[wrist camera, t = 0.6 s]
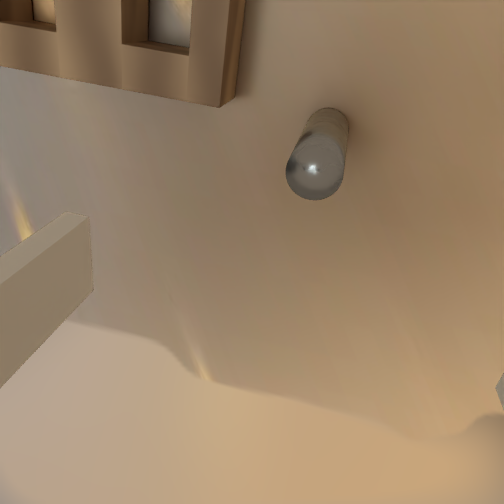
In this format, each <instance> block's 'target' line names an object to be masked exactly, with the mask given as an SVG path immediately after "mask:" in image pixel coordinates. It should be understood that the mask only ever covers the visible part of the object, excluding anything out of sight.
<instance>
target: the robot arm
mask: <svg viewBox="0 0 504 504" xmlns="http://www.w3.org/2000/svg"><path fill="white" fill-rule="evenodd" d="M92 291H93V275H92V258H91V241H90V224H89V217H88V216H84V215H79V214H75V213H70V212H65V213H63V214H62V215H60V216H59V217H57V218H56V219H54V220H53V221H51V222H50V223H49V224H47V225H46V226H44V227H43V228H41V229H40V230H38V231H37V232H35V233H34V234H33V235H31V236H30V237H28V238H27V239H25V240H24V241H22V242H21V243H19V244H18V245H16V246H15V247H14V248H12V249H11V250H9V251H8V252H6V253H5V254H3V255H2V256H0V388H1V387H2V386H3V385H4V384H5V383H6V382H7V381H8V380H9V378H10V377H11V376H12V375H13V374H14V373H15V372H16V371H17V370H18V369H19V368H20V367H21V366H22V365H23V364H24V363H25V361H26V360H28V358H29V357H30V356H31V355H32V354H33V353H34V352H35V351H36V350H37V349H38V348H39V347H40V346H41V345H42V344H43V342H45V340H46V339H47V338H48V337H49V336H50V335H51V334H52V333H53V332H54V331H55V330H56V329H57V328H58V327H59V326H60V325H61V324H62V323H63V322H64V320H65V319H66V318H67V317H68V316H69V315H70V314H71V313H72V312H73V311H74V310H75V309H76V308H77V307H78V306H79V305H80V304H81V303H82V301H83V300H84V299H85V298H86V297H87V296H88V295H89V294H90V293H91V292H92ZM495 388H496V390H497V393H498V396H499V398H500V401H501V404H502V407H503V409H504V373H503V375H502V377H501V378H500V380H499V382H498V384H497V385H496V387H495Z"/></svg>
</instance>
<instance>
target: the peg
mask: <svg viewBox="0 0 504 504" xmlns="http://www.w3.org/2000/svg"><path fill="white" fill-rule="evenodd" d="M348 129H349V128H348V122H347V120H346V118H345V116H344V115H343V114H342V113H341V112H340V111H338V110H336V109H333V108H323V109H320V110H318V111H316V112H315V113H314V114H313V115H312V116H311V117H310V118H309V120H308V122H307V124H306V126H305V128H304V130H303V132H302V134H301V136H300V138H299V140H298V142H297V144H296V146H295V148H294V150H293V152H292V154H291V156H290V158H289V160H288V163H287V166H286V179H287V182H288V184H289V186H290V188H291V189H292V190H293V191H294V192H295V193H296V194H297V195H299V196H300V197H302V198H305V199H308V200H321V199H324V198H327V197H329V196H331V195H332V194H333V193H335V192H336V191H337V189H338V188H339V187H340V185H341V183H342V180H343V174H344V165H345V157H346V148H347V139H348Z"/></svg>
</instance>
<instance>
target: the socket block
mask: <svg viewBox="0 0 504 504" xmlns="http://www.w3.org/2000/svg"><path fill="white" fill-rule="evenodd" d="M148 1H149V0H54V5H55V18H56V24H50V23H45V22H39V21H33V14H32V4H31V0H0V66H3V67H9V68H14V69H19V70H24V71H29V72H35V73H40V74H45V75H50V76H56V77H61V78H66V79H71V80H76V81H82V82H87V83H92V84H97V85H103V86H108V87H113V88H118V89H123V90H129V91H134V92H139V93H144V94H150V95H155V96H160V97H165V98H170V99H176V100H181V101H186V102H191V103H197V104H202V105H207V106H212V107H217V108H220V107H221V106H223V105H224V104H226V103H227V102H229V101H230V100H232V99H233V98H235V91H236V82H237V73H238V64H239V55H240V46H241V37H242V28H243V19H244V10H245V1H246V0H192V14H191V31H190V48H187V47H181V46H175V45H170V44H164V43H158V42H153V41H148Z"/></svg>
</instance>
